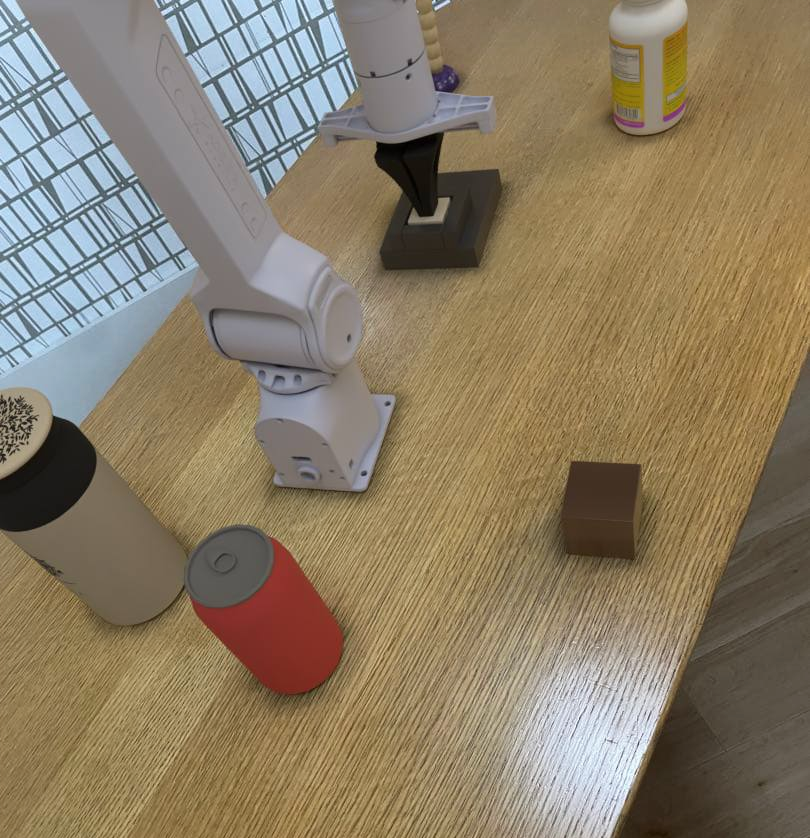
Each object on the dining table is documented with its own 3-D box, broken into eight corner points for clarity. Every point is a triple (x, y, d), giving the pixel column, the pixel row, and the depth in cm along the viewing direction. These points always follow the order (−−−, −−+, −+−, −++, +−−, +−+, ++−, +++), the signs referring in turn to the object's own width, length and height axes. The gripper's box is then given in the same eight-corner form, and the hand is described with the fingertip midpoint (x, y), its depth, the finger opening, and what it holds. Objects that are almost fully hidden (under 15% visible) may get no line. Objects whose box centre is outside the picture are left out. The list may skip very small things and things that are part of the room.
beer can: (298, 595, 60) (229, 499, 51) (365, 639, 57) (304, 545, 47) (237, 666, 58) (152, 581, 49) (302, 716, 55) (225, 635, 45)
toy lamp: (470, 76, 92) (438, -99, 79) (449, 101, 91) (412, -73, 77) (433, 73, 94) (396, -97, 81) (412, 98, 93) (370, -72, 79)
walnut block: (635, 559, 55) (633, 522, 52) (566, 554, 57) (560, 516, 53) (642, 503, 57) (641, 463, 54) (576, 499, 59) (571, 460, 55)
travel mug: (167, 520, 68) (32, 362, 53) (206, 585, 63) (69, 432, 48) (82, 577, 67) (-80, 432, 52) (115, 647, 62) (-53, 510, 47)
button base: (478, 268, 75) (470, 230, 72) (384, 271, 78) (372, 235, 75) (502, 188, 80) (495, 150, 77) (413, 194, 83) (403, 157, 80)
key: (445, 237, 75) (441, 220, 73) (411, 238, 76) (407, 222, 74) (453, 213, 76) (449, 196, 75) (420, 215, 77) (415, 198, 76)
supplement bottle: (682, 91, 81) (686, -56, 71) (688, 131, 78) (693, -18, 67) (611, 104, 83) (604, -38, 73) (614, 144, 79) (607, 0, 69)
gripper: (492, 15, 63) (517, 175, 74) (317, 38, 68) (365, 185, 79) (472, 68, 60) (502, 228, 71) (290, 89, 64) (344, 235, 75)
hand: (428, 209), depth 74 cm, fingers closed, pressing on key
